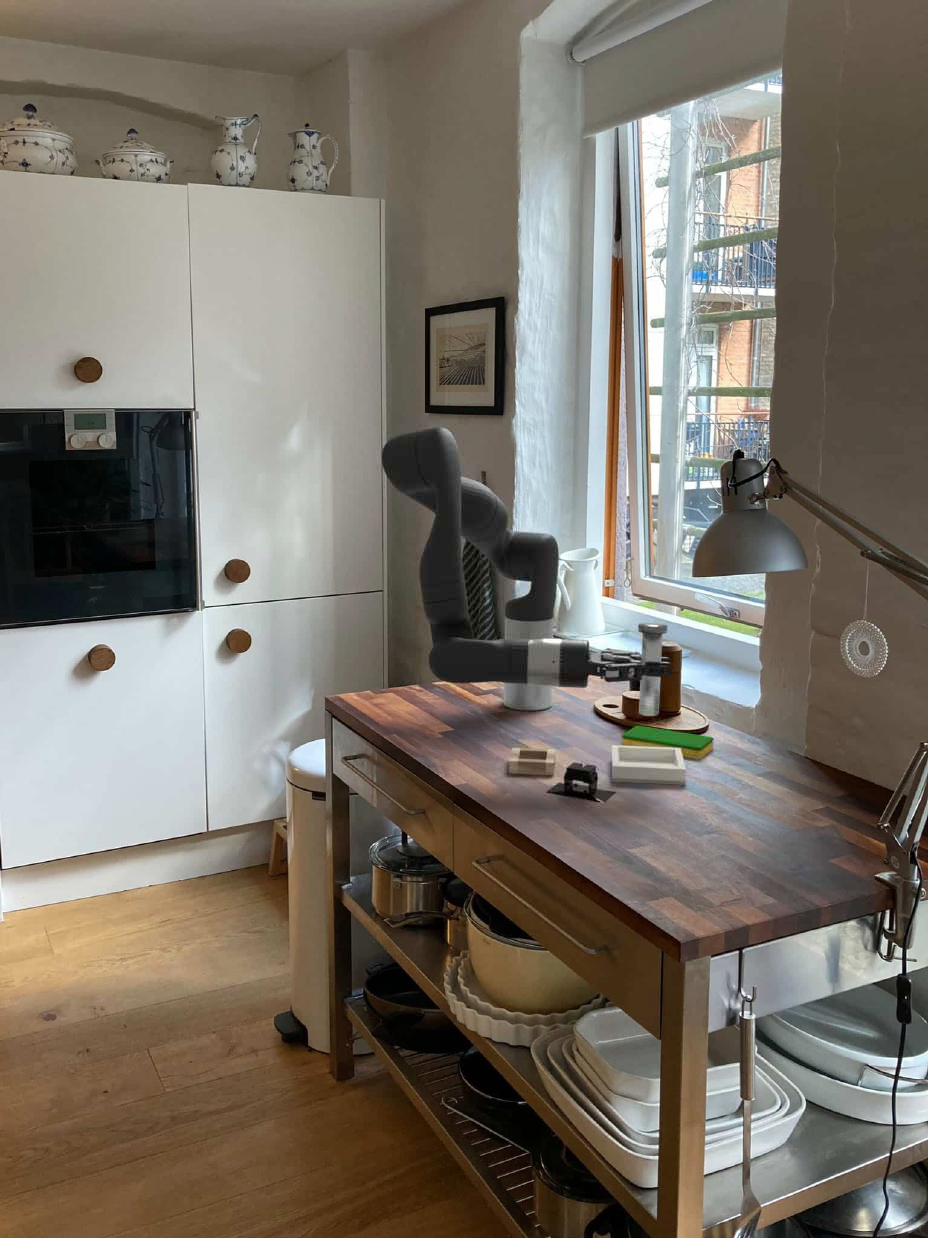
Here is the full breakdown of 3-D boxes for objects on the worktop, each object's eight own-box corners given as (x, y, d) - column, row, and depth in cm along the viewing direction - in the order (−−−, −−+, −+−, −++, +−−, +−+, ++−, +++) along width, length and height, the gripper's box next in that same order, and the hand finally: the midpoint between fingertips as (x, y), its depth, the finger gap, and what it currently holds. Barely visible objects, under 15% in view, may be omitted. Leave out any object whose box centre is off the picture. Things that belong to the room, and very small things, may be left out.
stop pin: (633, 709, 178) (637, 621, 175) (662, 710, 177) (666, 623, 175) (634, 716, 173) (639, 627, 171) (663, 717, 173) (668, 628, 170)
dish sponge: (699, 762, 184) (700, 747, 184) (620, 748, 191) (621, 734, 190) (713, 750, 190) (714, 737, 190) (636, 738, 197) (636, 724, 196)
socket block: (512, 759, 183) (512, 747, 183) (555, 761, 182) (555, 749, 182) (509, 773, 176) (509, 761, 176) (553, 775, 175) (554, 762, 175)
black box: (628, 795, 168) (629, 766, 167) (611, 810, 162) (612, 780, 161) (551, 783, 174) (551, 754, 173) (532, 797, 167) (532, 767, 166)
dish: (611, 760, 183) (611, 745, 183) (679, 762, 182) (680, 748, 181) (612, 781, 172) (612, 766, 172) (685, 785, 171) (686, 769, 171)
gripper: (557, 648, 168) (674, 652, 166) (560, 630, 182) (668, 634, 180) (555, 697, 169) (672, 702, 167) (558, 676, 183) (666, 680, 181)
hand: (669, 667), depth 174 cm, fingers closed on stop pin, 3 cm apart
